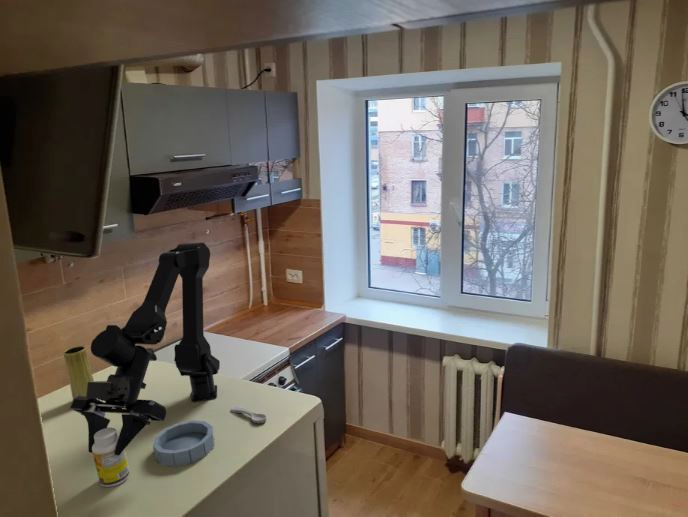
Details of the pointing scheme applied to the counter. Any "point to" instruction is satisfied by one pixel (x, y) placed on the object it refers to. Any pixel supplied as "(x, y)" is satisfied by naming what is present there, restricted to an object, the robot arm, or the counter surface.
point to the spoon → (255, 417)
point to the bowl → (183, 443)
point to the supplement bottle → (109, 458)
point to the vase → (78, 370)
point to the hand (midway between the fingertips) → (103, 453)
